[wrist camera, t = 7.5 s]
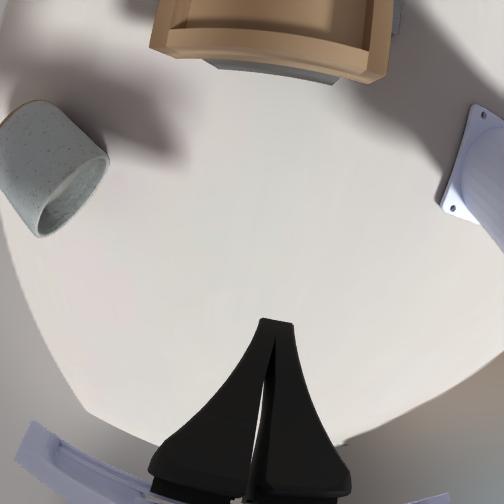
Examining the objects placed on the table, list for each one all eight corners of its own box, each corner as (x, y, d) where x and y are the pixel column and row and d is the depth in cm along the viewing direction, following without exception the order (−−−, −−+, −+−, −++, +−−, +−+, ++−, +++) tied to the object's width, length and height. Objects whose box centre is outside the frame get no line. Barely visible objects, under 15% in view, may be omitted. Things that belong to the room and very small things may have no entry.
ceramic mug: (61, 85, 15) (-17, 111, 9) (125, 141, 17) (50, 186, 11) (30, 176, 21) (-25, 216, 15) (81, 227, 23) (30, 279, 17)
